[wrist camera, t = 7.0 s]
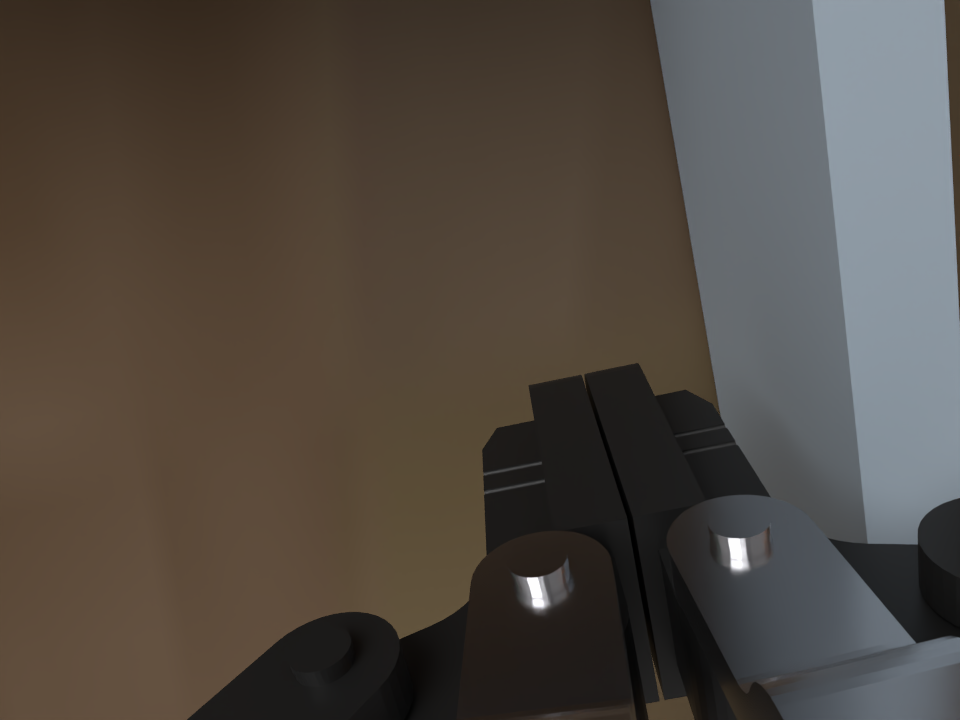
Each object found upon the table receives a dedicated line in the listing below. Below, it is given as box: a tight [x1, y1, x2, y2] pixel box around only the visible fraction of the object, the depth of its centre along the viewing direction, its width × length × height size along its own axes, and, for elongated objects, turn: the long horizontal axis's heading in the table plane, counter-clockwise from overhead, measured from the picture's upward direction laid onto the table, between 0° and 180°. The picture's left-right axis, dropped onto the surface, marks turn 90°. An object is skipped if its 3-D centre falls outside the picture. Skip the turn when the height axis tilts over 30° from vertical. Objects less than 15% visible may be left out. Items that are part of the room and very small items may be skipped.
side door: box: [650, 0, 960, 544], centre depth 10 cm, size 14×2×7 cm, turn 15°
